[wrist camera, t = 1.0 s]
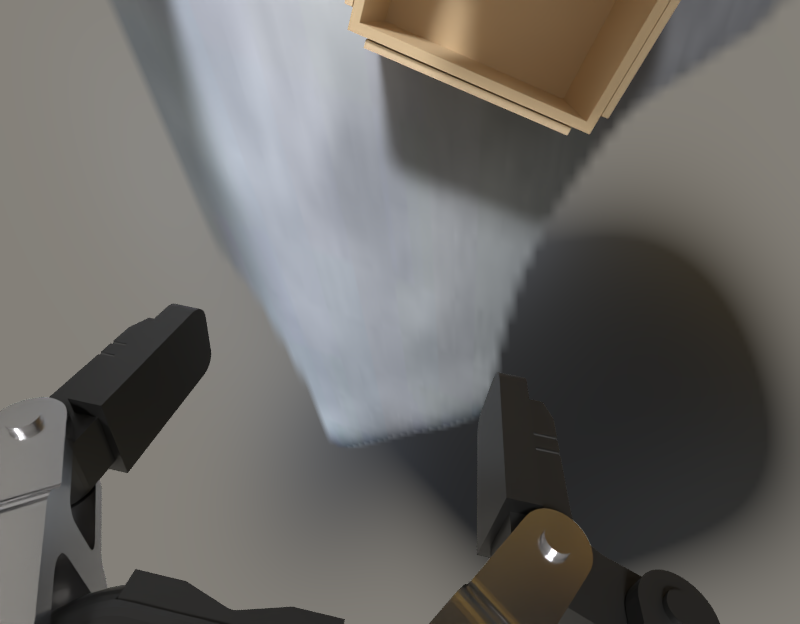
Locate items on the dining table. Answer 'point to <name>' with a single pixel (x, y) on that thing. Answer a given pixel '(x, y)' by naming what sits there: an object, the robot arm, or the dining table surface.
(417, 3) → the carton
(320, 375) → the dining table surface
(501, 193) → the dining table surface
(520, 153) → the dining table surface
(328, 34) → the dining table surface
